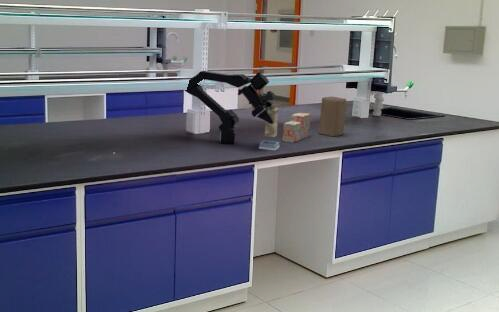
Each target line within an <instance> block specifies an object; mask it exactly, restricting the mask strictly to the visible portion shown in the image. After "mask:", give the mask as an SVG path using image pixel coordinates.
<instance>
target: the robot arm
mask: <svg viewBox="0 0 499 312" xmlns="http://www.w3.org/2000/svg"><path fill="white" fill-rule="evenodd" d="M203 79H204V81H213V82H218V83H224V84H227V85H230V86H233V87H235V88H239V89H237V90H238V91H237V96H241V95H243V96H244V98H246V100H247V101H248V105H251V106H252V107H253V110H251V116H252V117H253V118H256V117H257V118H258V119H260V120H263V121H264V122H266V121H267V122H268V123H270V124H273V121H272V119H271V118H270V116H269V114H268V107H270V106H273V105H274V103H273V102H272V101H273V100H275V99H276V97H275V93H274V91H271V90H269V91H267V92H266V94H265V95H262V94H261V93H258V92H257V91H261V90H263V89H264V87H266V86H267V85H268V84H269V83H270V81H269V78H267V76H265V75H264V74H263V73H261V72H260V71H258V72H257V73H256V74H255V75H254V76H253V77H252V78H251V77H247V76H246V75H245V74H244V73H233V74H227V73H220V72H213V71H208V70H201V71H199V72H198V73H196V75H194V76H192V77H191V78H190V79H188V80H189V84H188V87H187V90H184V92H185V93H188V95H191V96H193V97H195V98H198V100H200V101H201V102H202V103H203V104H204V105H205V106H206V107H208V108H209V110H211V111H212V113H213V112H214V113H215V115H216V116H218V118H219V120H220V122H221V124H220V125H219V126H218V131H219V139H218V141H219V143H220V144H232V145H233V144H235V142H236V141H235V140H236V133H235V129H236V127H237V126H238V125H239V123H240V118H239V116H238V113H236V112H235V111H234V110H233V109H229V110H227V109H225V108H224V107H223V106H222V105H220V104H219V103H218V102H217V101H216V100H215V99H214V98H213V97H212V96H211V95H209V94H208V93H207V92H206V91H205V90H204V88H203V86H202V85H201V84H200V85H201V86H200V85H198V84H197V83H199V82H200V81H202V80H203ZM241 87H242V88H241Z"/></svg>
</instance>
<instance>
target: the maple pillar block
mask: <svg viewBox="0 0 499 312" xmlns="http://www.w3.org/2000/svg"><path fill="white" fill-rule="evenodd" d="M268 114H269V116H270V118H271V119H272V121H273V124H270V123H268V122H267V121H265V125H264V126H265V127H264V137H269V138H275V137H277V135H278V121H279V120H278V119H279V107H275V106H273V105H272V106H270V107H268Z"/></svg>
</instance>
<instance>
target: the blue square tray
mask: <svg viewBox="0 0 499 312" xmlns="http://www.w3.org/2000/svg"><path fill="white" fill-rule="evenodd" d="M279 148H280V142H279V141H274V140H273V141H272V140H267V139H266V140H265V139H263V140H262V141H261V142H259V145H258V149H261V150H267V151H277V150H278V149H279Z"/></svg>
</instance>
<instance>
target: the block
mask: <svg viewBox="0 0 499 312" xmlns="http://www.w3.org/2000/svg"><path fill="white" fill-rule="evenodd" d="M320 105H321V107H320V116H319V126H318V133H319V134H320V135H324V136H328V137H331V138H332V137H338V136H342V135H344V129H345V127H344V126H345V119H346V109H347V99H346V98H343V97H337V96H326V97H325V96H324V97H322V98H321V104H320Z"/></svg>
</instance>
